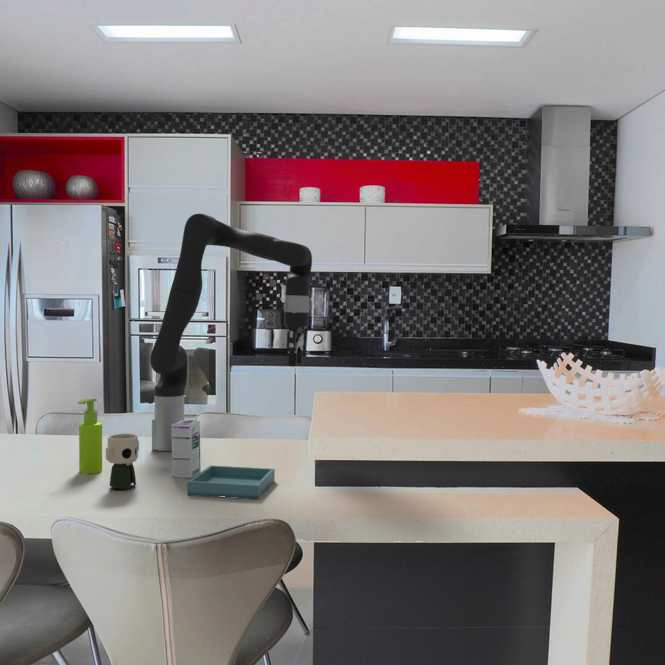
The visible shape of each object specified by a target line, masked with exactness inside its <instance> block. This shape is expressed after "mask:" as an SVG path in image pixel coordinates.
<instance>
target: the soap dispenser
mask: <svg viewBox="0 0 665 665" xmlns="http://www.w3.org/2000/svg"><path fill="white" fill-rule="evenodd" d="M97 399H98V398H84V399H80V400H79V401H77V403H78V404H79V405H85V404H86V405H87V406H86V409H85V410H84V411H83V422H82V423H79V425H78V440H79V441H78V450H79V451H78V453H79V456H78V457H79V458H78V460H79V462H78V463H79V465H78V466H79V471H78V472H79V473H80V474H84V475H92V474H93V473H94V474H98V473H101V472H103V422H101V421H100V422H99V421H98V410H97V409H95V402H97V401H98V400H97Z"/></svg>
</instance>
